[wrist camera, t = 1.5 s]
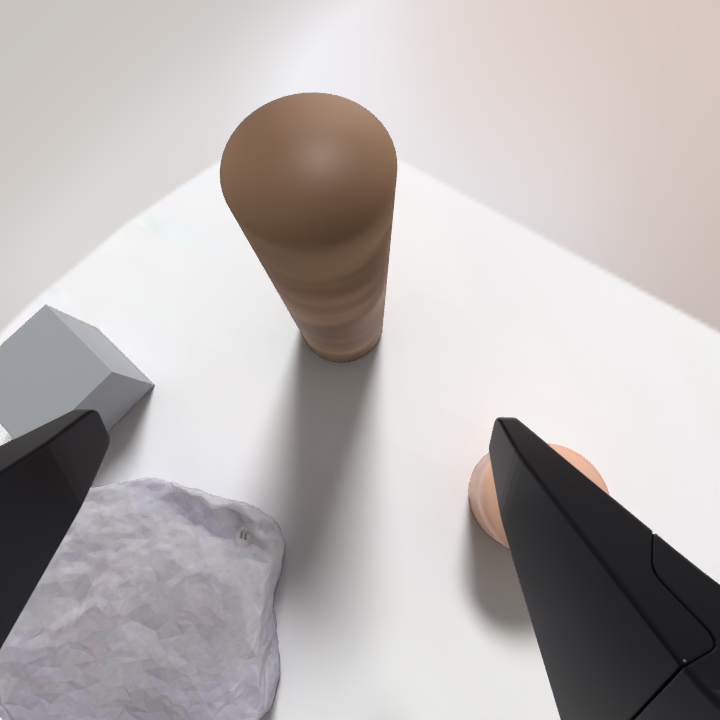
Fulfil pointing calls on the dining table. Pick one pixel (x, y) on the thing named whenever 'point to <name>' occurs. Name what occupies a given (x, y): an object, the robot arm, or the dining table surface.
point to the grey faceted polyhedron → (64, 373)
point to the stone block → (150, 612)
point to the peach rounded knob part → (486, 498)
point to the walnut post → (318, 213)
